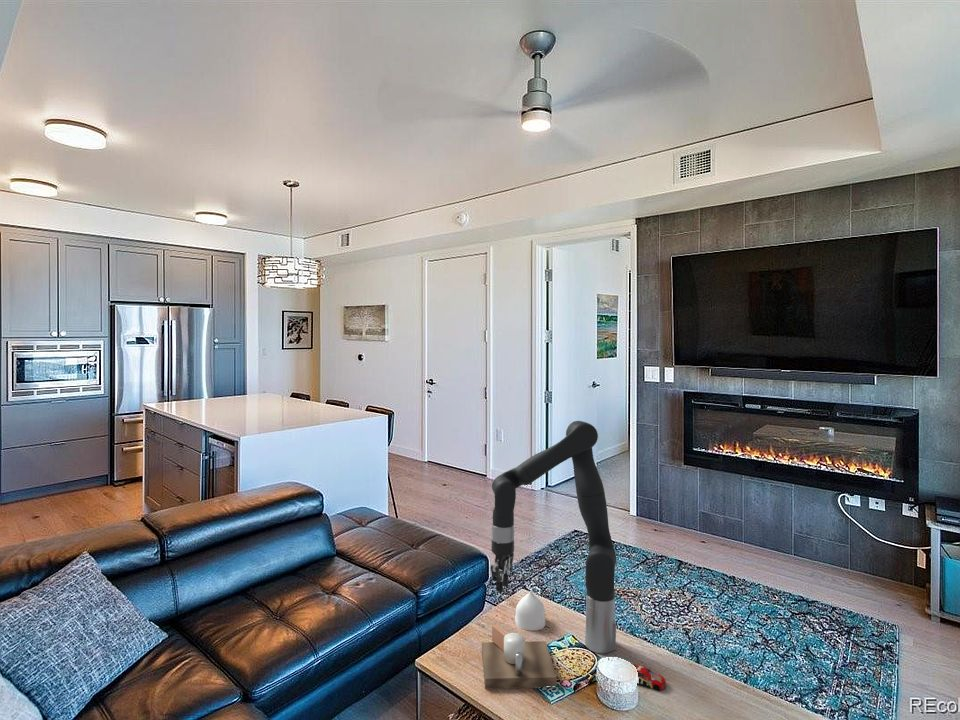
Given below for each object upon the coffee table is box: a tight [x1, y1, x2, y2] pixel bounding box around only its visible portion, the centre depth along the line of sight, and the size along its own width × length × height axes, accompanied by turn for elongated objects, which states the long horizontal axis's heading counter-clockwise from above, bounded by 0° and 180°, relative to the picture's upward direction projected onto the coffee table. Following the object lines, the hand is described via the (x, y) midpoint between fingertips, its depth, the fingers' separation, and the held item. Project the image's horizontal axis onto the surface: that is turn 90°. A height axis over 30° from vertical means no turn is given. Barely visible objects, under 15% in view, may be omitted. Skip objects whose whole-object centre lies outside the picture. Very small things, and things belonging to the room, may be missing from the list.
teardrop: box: [514, 589, 546, 631], centre depth 184 cm, size 11×11×12 cm
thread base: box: [481, 640, 558, 690], centre depth 158 cm, size 21×18×9 cm
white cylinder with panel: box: [491, 624, 526, 664], centre depth 161 cm, size 14×6×6 cm, turn 33°
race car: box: [632, 663, 667, 692], centre depth 153 cm, size 13×5×4 cm, turn 62°
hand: (502, 588), depth 170 cm, fingers open, 3 cm apart
